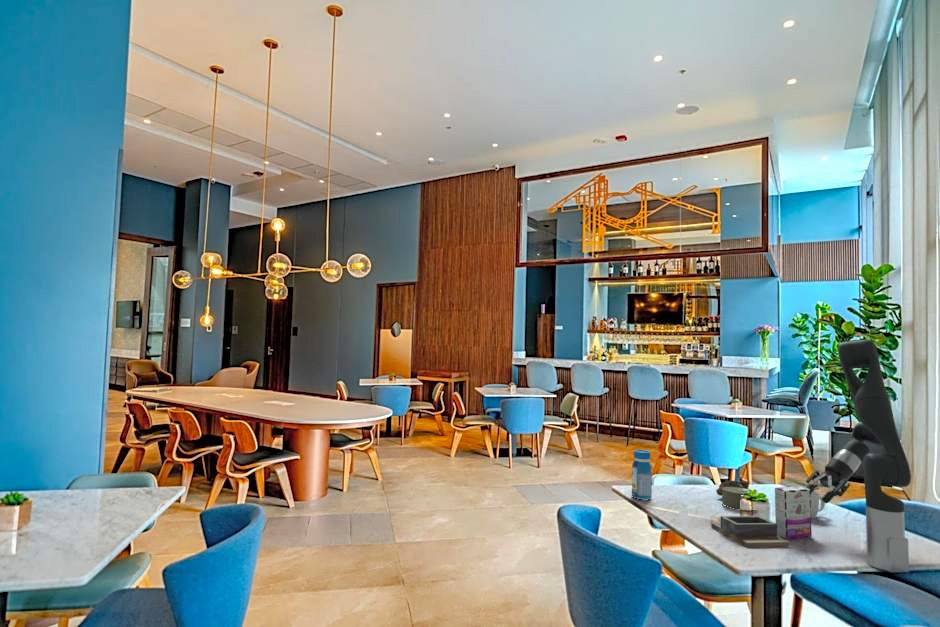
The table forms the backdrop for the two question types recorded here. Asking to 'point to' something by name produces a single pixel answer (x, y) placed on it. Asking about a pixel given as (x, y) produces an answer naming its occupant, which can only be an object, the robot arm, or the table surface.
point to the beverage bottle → (641, 475)
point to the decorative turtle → (732, 483)
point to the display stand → (750, 531)
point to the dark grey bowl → (733, 496)
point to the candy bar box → (793, 512)
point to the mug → (816, 503)
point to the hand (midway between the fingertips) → (814, 498)
